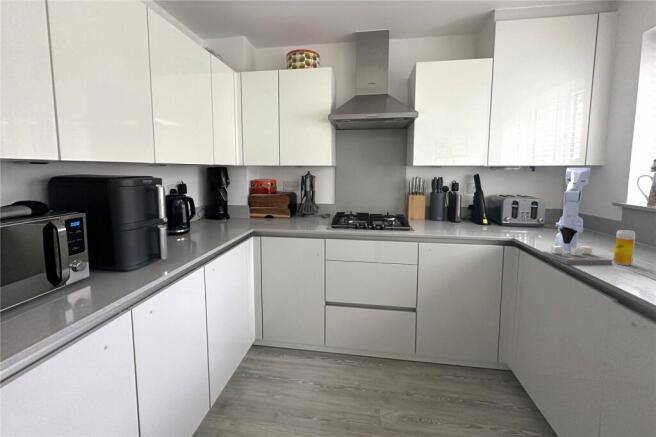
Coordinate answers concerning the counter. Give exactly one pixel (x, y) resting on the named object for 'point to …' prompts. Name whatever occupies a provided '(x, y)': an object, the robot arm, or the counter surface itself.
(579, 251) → the block
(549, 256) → the breaker board
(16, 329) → the counter surface
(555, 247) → the block
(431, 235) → the counter surface
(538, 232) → the counter surface
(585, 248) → the breaker right
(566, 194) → the robot arm
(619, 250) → the yellow and white cylinder
